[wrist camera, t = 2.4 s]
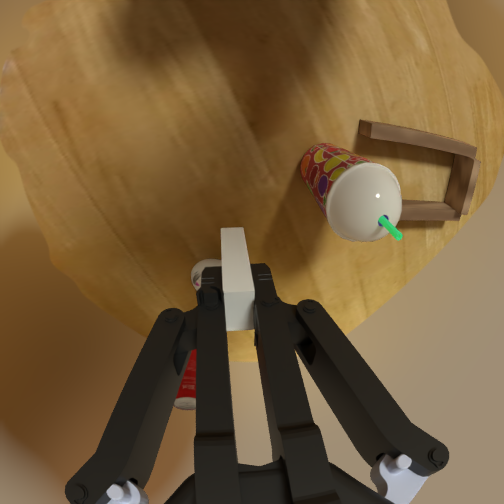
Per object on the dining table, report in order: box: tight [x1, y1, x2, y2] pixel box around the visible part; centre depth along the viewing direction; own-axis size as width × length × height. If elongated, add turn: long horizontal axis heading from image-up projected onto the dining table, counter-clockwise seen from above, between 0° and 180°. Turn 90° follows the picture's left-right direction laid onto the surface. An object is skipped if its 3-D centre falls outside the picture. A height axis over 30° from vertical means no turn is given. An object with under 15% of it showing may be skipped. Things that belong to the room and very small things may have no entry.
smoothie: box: [300, 143, 403, 242], centre depth 28 cm, size 8×8×20 cm
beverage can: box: [173, 349, 196, 410], centre depth 46 cm, size 6×6×15 cm
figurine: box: [191, 259, 222, 290], centre depth 41 cm, size 8×6×7 cm
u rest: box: [359, 120, 481, 221], centre depth 36 cm, size 14×22×5 cm, turn 90°
